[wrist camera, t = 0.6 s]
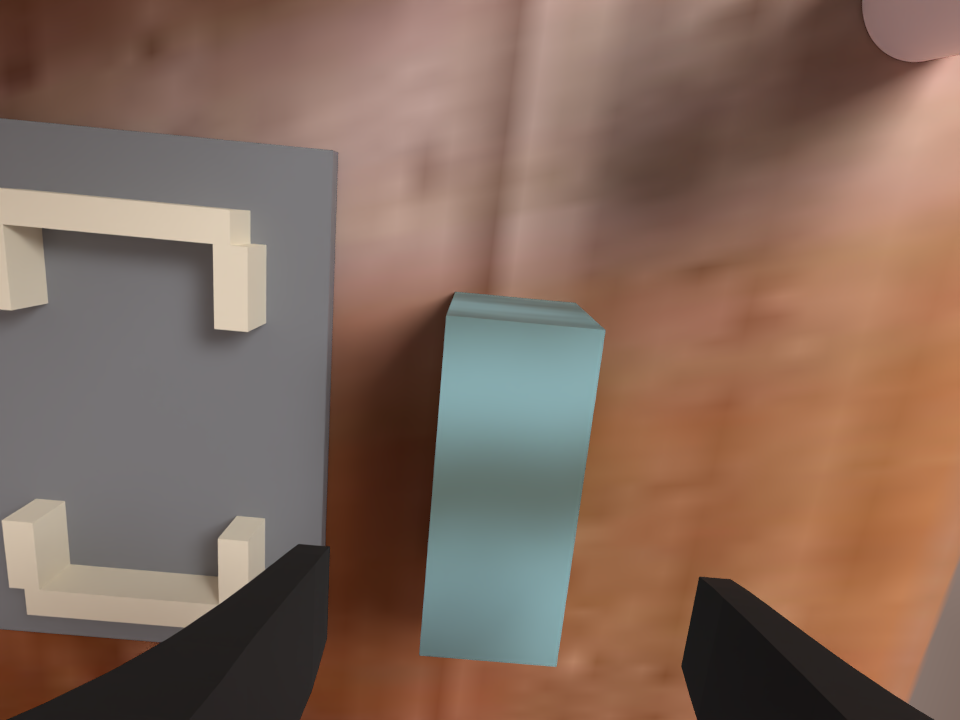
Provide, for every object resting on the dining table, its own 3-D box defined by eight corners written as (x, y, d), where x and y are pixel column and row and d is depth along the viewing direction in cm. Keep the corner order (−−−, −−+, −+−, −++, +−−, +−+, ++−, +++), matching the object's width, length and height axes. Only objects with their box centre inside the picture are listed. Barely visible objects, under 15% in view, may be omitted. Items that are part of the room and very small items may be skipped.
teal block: (540, 566, 22) (556, 666, 17) (433, 557, 22) (419, 655, 17) (574, 302, 19) (605, 330, 15) (455, 291, 19) (445, 315, 14)
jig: (322, 643, 22) (306, 686, 20) (7, 617, 22) (-41, 658, 20) (338, 152, 18) (319, 144, 16) (-51, 115, 18) (-120, 101, 16)
